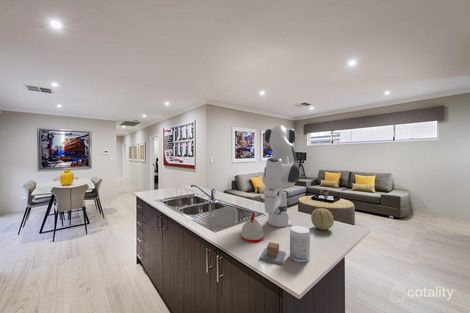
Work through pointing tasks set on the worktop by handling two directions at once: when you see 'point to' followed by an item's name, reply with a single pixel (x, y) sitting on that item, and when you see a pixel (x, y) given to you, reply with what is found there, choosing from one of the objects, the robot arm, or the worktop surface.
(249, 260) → the worktop surface
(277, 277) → the worktop surface
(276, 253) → the walnut block
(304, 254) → the supplement tub
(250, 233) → the kitchen timer
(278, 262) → the slate coaster
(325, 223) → the cantaloupe
